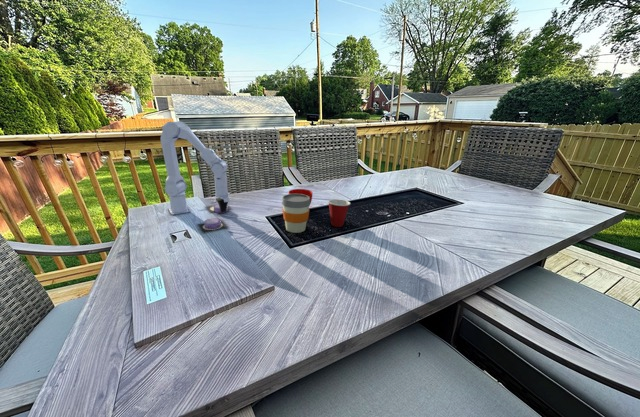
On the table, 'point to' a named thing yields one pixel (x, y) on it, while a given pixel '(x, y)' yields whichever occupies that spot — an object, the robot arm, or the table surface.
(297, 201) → the reusable coffee cup
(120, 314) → the table surface
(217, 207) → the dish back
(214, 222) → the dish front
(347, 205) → the plastic cup
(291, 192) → the ceramic cup
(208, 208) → the pad
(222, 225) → the pad
